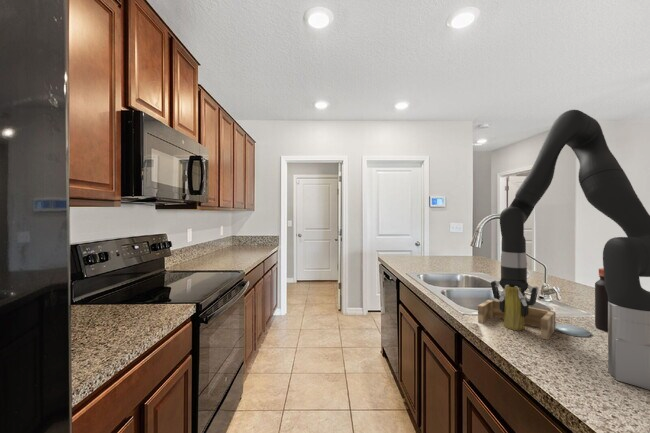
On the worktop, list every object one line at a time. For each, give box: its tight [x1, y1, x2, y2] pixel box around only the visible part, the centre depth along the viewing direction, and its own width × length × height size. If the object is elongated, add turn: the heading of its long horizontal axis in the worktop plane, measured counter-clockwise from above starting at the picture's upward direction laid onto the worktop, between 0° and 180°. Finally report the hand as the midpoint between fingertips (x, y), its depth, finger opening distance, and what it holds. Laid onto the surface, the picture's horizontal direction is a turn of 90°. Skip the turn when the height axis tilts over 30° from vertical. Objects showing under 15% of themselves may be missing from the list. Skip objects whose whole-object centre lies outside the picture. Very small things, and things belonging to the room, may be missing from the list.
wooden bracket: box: [477, 298, 556, 340], centre depth 101 cm, size 12×20×6 cm, turn 42°
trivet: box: [555, 323, 591, 338], centre depth 96 cm, size 9×9×1 cm
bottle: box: [594, 267, 608, 333], centre depth 97 cm, size 7×7×20 cm
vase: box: [502, 285, 525, 331], centre depth 100 cm, size 6×6×14 cm
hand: (513, 313), depth 100 cm, fingers closed on vase, 5 cm apart
